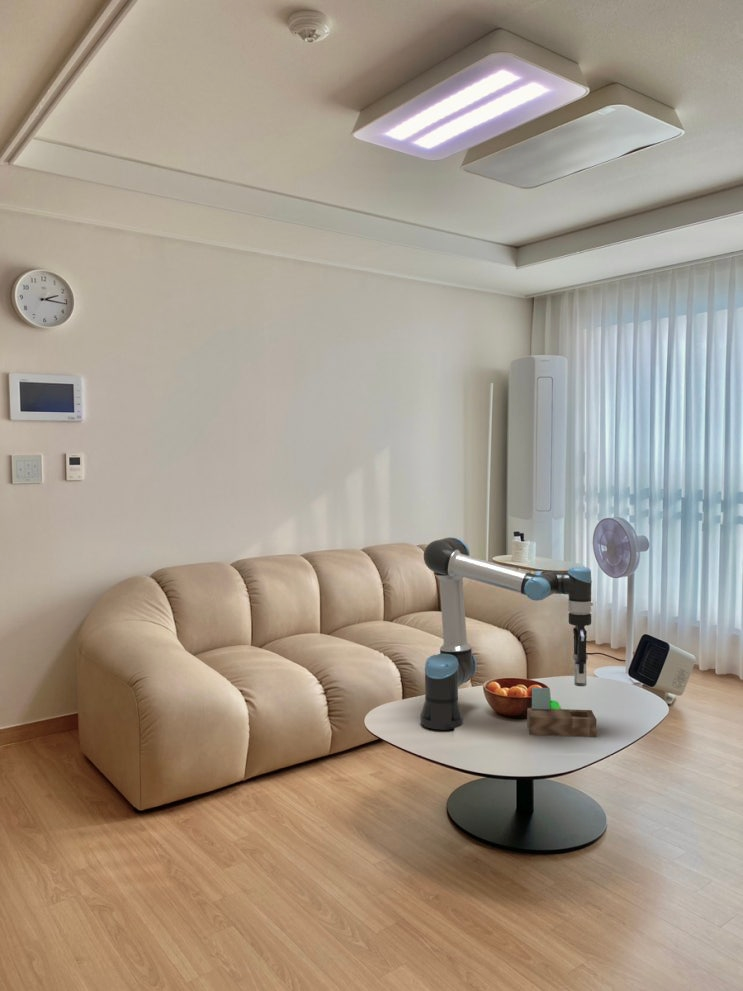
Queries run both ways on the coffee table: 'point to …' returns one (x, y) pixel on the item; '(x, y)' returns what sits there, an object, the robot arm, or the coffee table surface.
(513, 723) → the coffee table surface
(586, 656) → the grey cylinder
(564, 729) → the block
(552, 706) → the mechanical part
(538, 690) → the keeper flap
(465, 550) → the robot arm
